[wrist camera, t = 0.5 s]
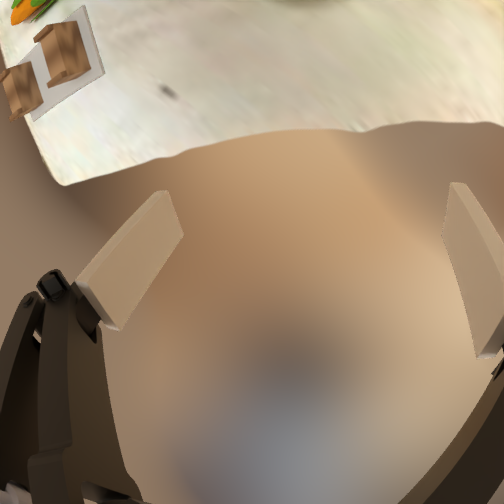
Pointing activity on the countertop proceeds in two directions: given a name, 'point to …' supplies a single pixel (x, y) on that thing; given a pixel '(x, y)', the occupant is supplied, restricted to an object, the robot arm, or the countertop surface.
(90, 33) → the mat
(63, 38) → the wooden brackets on board
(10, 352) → the robot arm
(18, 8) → the corn
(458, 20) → the countertop surface
